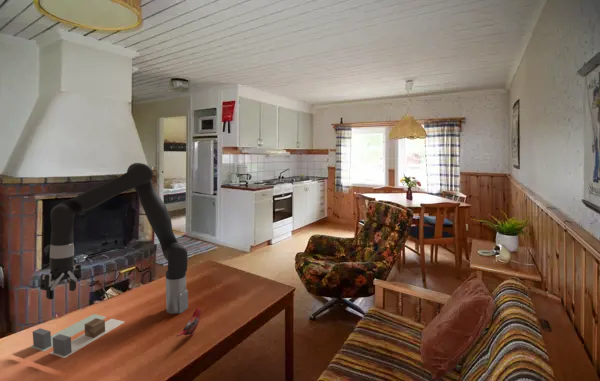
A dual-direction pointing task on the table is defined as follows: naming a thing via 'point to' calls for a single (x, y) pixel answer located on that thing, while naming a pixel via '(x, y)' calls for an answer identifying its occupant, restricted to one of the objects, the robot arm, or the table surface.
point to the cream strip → (78, 340)
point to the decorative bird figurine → (191, 324)
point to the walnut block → (94, 328)
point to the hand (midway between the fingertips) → (61, 294)
